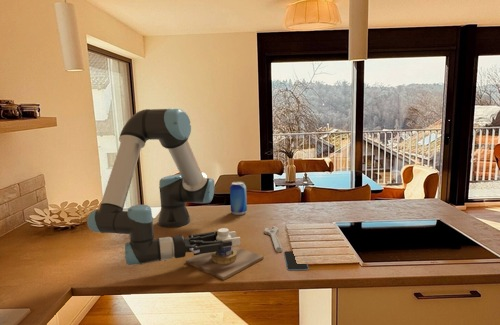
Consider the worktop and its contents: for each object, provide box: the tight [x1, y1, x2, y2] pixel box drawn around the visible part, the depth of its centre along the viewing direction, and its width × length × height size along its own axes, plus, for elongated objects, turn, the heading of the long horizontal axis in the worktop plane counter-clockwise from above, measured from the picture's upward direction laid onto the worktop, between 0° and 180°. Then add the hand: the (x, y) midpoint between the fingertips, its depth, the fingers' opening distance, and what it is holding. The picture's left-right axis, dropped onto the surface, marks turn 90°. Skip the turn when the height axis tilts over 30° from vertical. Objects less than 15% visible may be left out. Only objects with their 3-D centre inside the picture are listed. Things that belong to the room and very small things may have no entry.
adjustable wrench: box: [263, 225, 283, 253], centre depth 143 cm, size 25×6×2 cm, turn 0°
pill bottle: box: [216, 227, 232, 257], centre depth 124 cm, size 5×5×10 cm
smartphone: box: [283, 250, 309, 272], centre depth 123 cm, size 7×1×15 cm
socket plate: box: [185, 245, 264, 281], centre depth 125 cm, size 20×20×3 cm
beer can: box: [229, 181, 248, 216], centre depth 179 cm, size 8×8×16 cm
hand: (237, 237), depth 125 cm, fingers closed on pill bottle, 5 cm apart
